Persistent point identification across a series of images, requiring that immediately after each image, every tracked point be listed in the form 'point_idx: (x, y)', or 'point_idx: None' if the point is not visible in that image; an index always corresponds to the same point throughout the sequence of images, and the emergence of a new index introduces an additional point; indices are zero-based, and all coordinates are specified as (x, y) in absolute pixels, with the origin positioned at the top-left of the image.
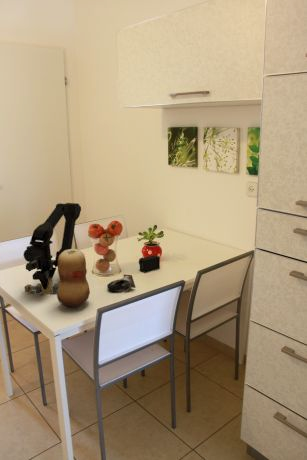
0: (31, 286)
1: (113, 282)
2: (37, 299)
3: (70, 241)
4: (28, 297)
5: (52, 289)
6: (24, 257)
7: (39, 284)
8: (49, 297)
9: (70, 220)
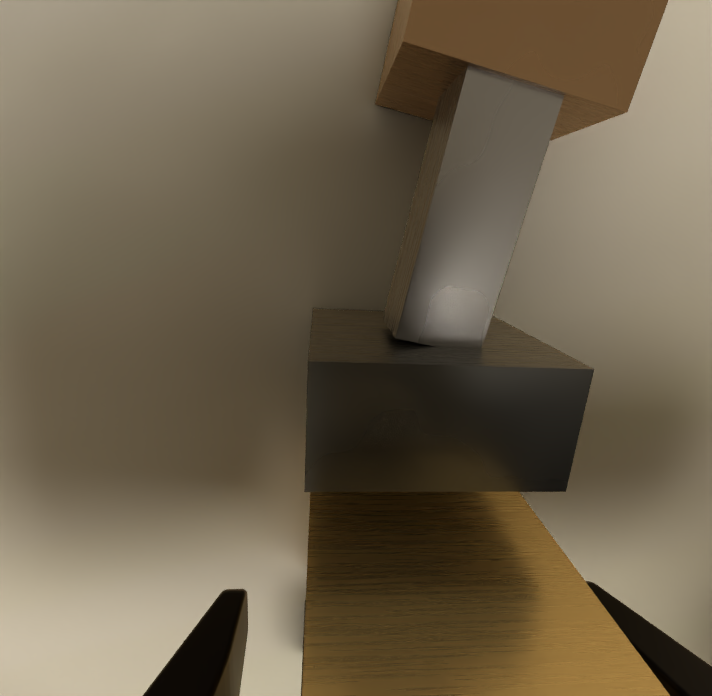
0: (473, 163)
1: None
2: (40, 420)
3: None
4: (111, 191)
5: (301, 689)
6: None
7: (483, 439)
8: (159, 590)
9: None
